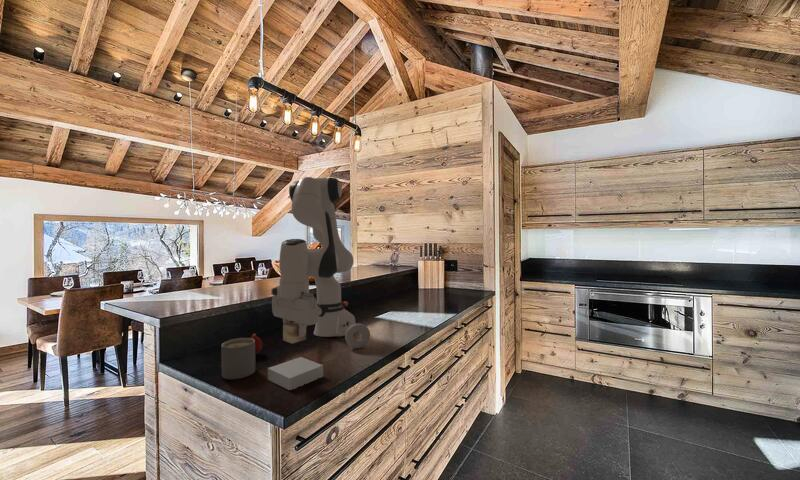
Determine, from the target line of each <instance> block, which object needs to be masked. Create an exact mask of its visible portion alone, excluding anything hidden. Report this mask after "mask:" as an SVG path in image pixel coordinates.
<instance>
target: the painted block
mask: <svg viewBox="0 0 800 480" xmlns="http://www.w3.org/2000/svg"><path fill="white" fill-rule="evenodd" d="M323 377H324V365H323V364H321V363H318V362H316V361H312V360H311V359H307V358H305V357H303V356H299V357H297V358H294V359H291V360H287V361H285V362H282V363H279V364H277V365H273V366H270V367H268V368H267V381H270V382H271V383H273V384H276V385H277V386H280V387H282V388H284V389H286V390H288V391H289V390H291V391H292V389H293V390H296V389H297V387H298V388H300V387H302V386H305V385H306V384H309V383H311V382H313V381H316V380H319V379H321V378H323ZM318 378H319V379H318ZM304 384H305V385H304ZM299 386H300V387H299Z"/></svg>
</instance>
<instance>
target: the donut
mask: <svg viewBox="0 0 800 480" xmlns="http://www.w3.org/2000/svg"><path fill="white" fill-rule="evenodd" d="M357 333H360V334H361V337H360V338H359V339H356V338H355V337H354V336H355V334H357ZM344 338H345V342H346V344H347V345H348V346H349V347H350V348H352V349H357V348H358V349H362V348H364V347H365V346H366V345H368V343H369V342H370V338H371V332H370V329H369V327H368V326H366V324H363V323H360V322H358V323H356V324H353V325H351V326H350V327H349V328H348V329H347V331H346V334H345V335H344Z"/></svg>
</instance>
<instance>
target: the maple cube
mask: <svg viewBox="0 0 800 480" xmlns="http://www.w3.org/2000/svg"><path fill="white" fill-rule="evenodd" d="M299 328H300V326H299V323H298V322H294V321H291V322H290V323H287V324H284V323H283V324H282V341H284V342H287V343H289V344H292V345H293V344H296V343H299V342H304V341H306V340H307V328H306V329H305V336H303V337H299V336H297V331H299Z"/></svg>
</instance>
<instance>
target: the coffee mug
mask: <svg viewBox="0 0 800 480" xmlns="http://www.w3.org/2000/svg"><path fill="white" fill-rule="evenodd" d="M220 348H221V349H220V350H221V351H220V355H221V377H222V378H223V379H225V380H237V379H238V380H239V379H243V378H245V377H248V376H251V375H253V374H254V373H255V372H256V355H255V340H254V339H252V338H251V337H239V338H238V337H237V338H233V339H229V340H227V341H224V342H223V343H221V347H220Z"/></svg>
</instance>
